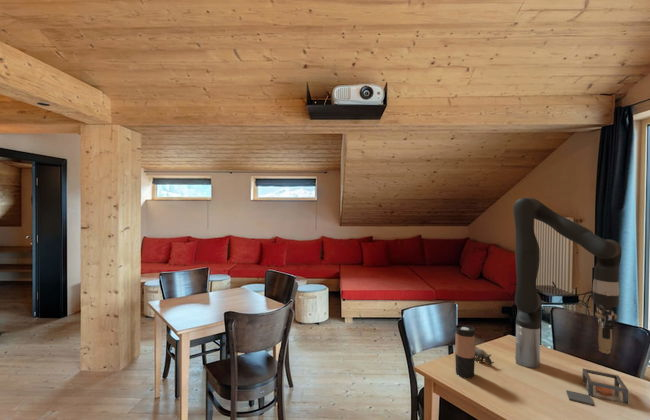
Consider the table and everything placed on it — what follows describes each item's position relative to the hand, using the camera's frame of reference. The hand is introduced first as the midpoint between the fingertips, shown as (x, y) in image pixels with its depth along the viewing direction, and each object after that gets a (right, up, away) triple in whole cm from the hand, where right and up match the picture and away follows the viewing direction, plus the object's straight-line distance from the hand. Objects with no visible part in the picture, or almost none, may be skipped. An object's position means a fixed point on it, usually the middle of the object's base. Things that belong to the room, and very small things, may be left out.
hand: (604, 336), depth 120 cm
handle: (0, -7, 0) cm, 7 cm away
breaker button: (0, -21, 0) cm, 21 cm away
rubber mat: (-12, -22, -3) cm, 25 cm away
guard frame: (0, -22, 0) cm, 22 cm away
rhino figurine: (-36, -22, +24) cm, 48 cm away
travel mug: (-48, -22, +13) cm, 54 cm away
